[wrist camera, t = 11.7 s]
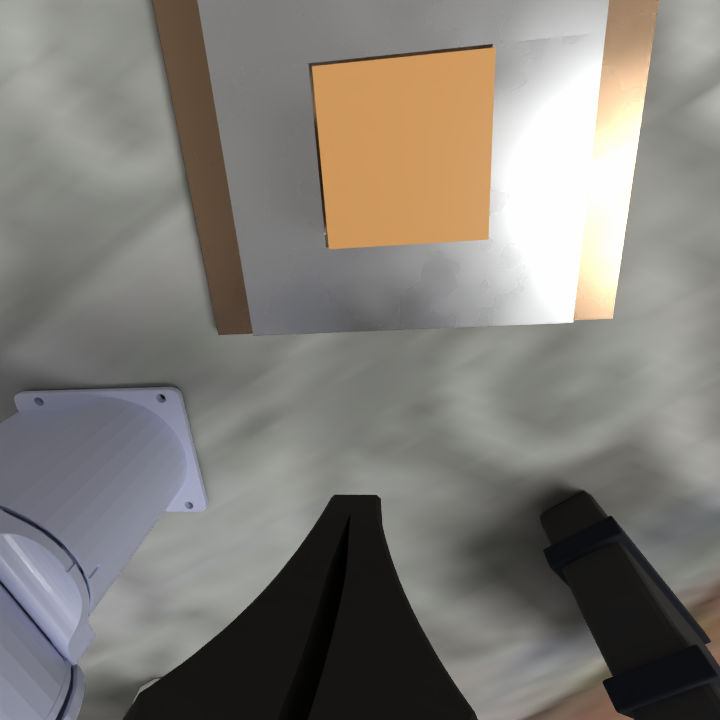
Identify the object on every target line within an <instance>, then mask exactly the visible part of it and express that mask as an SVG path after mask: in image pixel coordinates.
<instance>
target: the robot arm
mask: <svg viewBox="0 0 720 720" xmlns="http://www.w3.org/2000/svg"><path fill="white" fill-rule="evenodd" d="M160 394H162V395H164V396H165V398H166V400H165V399H162V398H161V396H160ZM40 398H41V399H42V400H43V402H42V401H41V399H40ZM14 402H15V405H16V407H17V410H18V412H17V413H16V414H14V415H12V416H11V417H9V418H7V419H6V420H4V421H2V422H1V423H0V720H76V719H77V717H78V714H79V712H80V709H81V706H82V702H83V698H84V693H85V679H84V674H83V672H82V670H81V668H80V667H79V666H78V665H77V664H76V663H77V662H78V660H79V659H80V657H81V656H82V654H83V653H84V651H85V650H86V648H87V647H88V645H89V644H90V642H91V641H92V639H93V638H94V636H95V633H94V632H93V630H92V628H91V627H90V624H89V622H88V617H89V616H90V614H91V613H92V611H93V610H94V609H95V607H96V606H97V605H98V603H99V602H100V600H101V599H102V598H103V596H104V595H105V593H106V592H107V591H108V589H109V588H110V586H111V585H112V584H113V582H114V581H115V579H116V578H117V577H118V575H119V574H120V572H121V571H122V570H123V568H124V567H125V566H126V564H127V563H128V561H129V560H130V559H131V557H132V556H133V554H134V553H135V552H136V550H137V549H138V547H139V546H140V545H141V543H142V542H143V540H144V539H145V538H146V536H147V535H148V534H149V532H150V531H151V529H152V528H153V527H154V525H155V524H156V522H157V521H158V520H159V518H160V517H161V515H162V514H163V513H164V512H201V511H203V510H205V508H206V507H207V505H208V500H207V496H206V492H205V488H204V484H203V480H202V475H201V471H200V467H199V463H198V459H197V455H196V451H195V447H194V442H193V438H192V434H191V430H190V426H189V422H188V418H187V413H186V409H185V405H184V401H183V397H182V394H181V392H180V391H179V390H178V389H177V388H175V387H149V388H115V389H82V390H48V391H23V392H20V393H18V394H17V395H15V397H14ZM189 502H191V503H192V504H193V505H192V504H190V503H189ZM123 720H478V719H477V716H476V714H475V712H474V711H473V709H472V708H471V706H470V705H469V704H468V702H467V701H466V699H465V698H464V696H463V695H462V694H461V692H460V691H459V689H458V688H457V686H456V685H455V683H454V682H453V680H452V679H451V677H450V676H449V674H448V672H447V671H446V669H445V668H444V666H443V664H442V663H441V661H440V660H439V658H438V656H437V654H436V653H435V651H434V649H433V647H432V646H431V644H430V642H429V640H428V639H427V637H426V635H425V633H424V631H423V630H422V628H421V626H420V624H419V622H418V620H417V618H416V616H415V614H414V612H413V610H412V608H411V606H410V604H409V601H408V599H407V597H406V595H405V592H404V590H403V588H402V585H401V583H400V580H399V578H398V575H397V572H396V570H395V567H394V564H393V561H392V559H391V556H390V552H389V549H388V545H387V542H386V539H385V535H384V531H383V526H382V513H381V498H379V497H378V496H377V495H334V496H333V497H332V498H331V499H330V501H329V503H328V505H327V506H326V508H325V510H324V511H323V513H322V515H321V516H320V518H319V519H318V521H317V522H316V524H315V525H314V527H313V529H312V530H311V531H310V533H309V534H308V536H307V537H306V538H305V540H304V541H303V543H302V544H301V546H300V547H299V548H298V550H297V551H296V552H295V554H294V555H293V556H292V557H291V559H290V560H289V561H288V562H287V564H286V565H285V566H284V568H283V569H282V570H281V571H280V572H279V574H278V575H277V576H276V577H275V578H274V580H273V581H272V582H271V583H270V584H269V585H268V586H267V587H266V589H265V590H264V591H263V592H262V593H261V594H260V595H259V596H258V597H257V598H256V599H255V600H254V601H253V602H252V603H251V604H250V605H249V606H248V607H247V608H246V609H245V610H244V611H243V612H242V613H241V614H240V615H239V616H238V617H237V618H236V619H235V620H234V621H233V622H231V623H230V624H229V625H228V626H227V627H226V628H225V629H224V630H223V631H221V632H220V633H219V634H218V635H217V636H215V637H214V638H213V639H212V640H211V641H209V642H208V643H207V644H206V645H205V646H203V647H202V648H201V649H200V650H199V651H197V652H196V653H195V654H194V655H192V656H191V657H190V658H189V659H187V660H186V661H185V662H183V663H182V664H181V665H179V666H178V667H176V668H175V669H174V670H172V671H171V672H169V673H168V674H166V675H165V676H164V677H162V678H161V679H159V680H158V681H156V682H155V683H154V684H152V685H151V686H149V687H148V688H146V689H145V690H143V691H142V692H140V693H139V694H138V696H137V698H136V699H135V701H134V703H133V704H132V706H131V707H130V709H129V710H128V712H127V713H126V715H125V716H124V718H123Z"/></svg>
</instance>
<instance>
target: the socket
mask: <svg viewBox="0 0 720 720" xmlns="http://www.w3.org/2000/svg"><path fill="white" fill-rule="evenodd" d="M658 2H659V0H153V5H154V10H155V16H156V21H157V26H158V31H159V36H160V41H161V46H162V51H163V56H164V61H165V66H166V71H167V76H168V81H169V87H170V92H171V97H172V102H173V107H174V112H175V117H176V122H177V127H178V132H179V137H180V142H181V147H182V152H183V158H184V163H185V168H186V173H187V178H188V183H189V188H190V193H191V198H192V203H193V208H194V213H195V218H196V223H197V228H198V234H199V239H200V244H201V249H202V254H203V259H204V264H205V269H206V274H207V279H208V284H209V289H210V294H211V299H212V305H213V310H214V315H215V320H216V325H217V330H218V335H228V334H252V333H253V336H261V335H285V334H310V333H334V332H358V331H382V330H406V329H430V328H454V327H479V326H503V325H527V324H551V323H573V320H585V319H609V318H612V317H613V310H614V304H615V297H616V290H617V283H618V276H619V269H620V263H621V256H622V249H623V242H624V235H625V228H626V221H627V215H628V208H629V201H630V194H631V187H632V180H633V174H634V167H635V160H636V153H637V146H638V139H639V132H640V126H641V119H642V112H643V105H644V98H645V91H646V85H647V78H648V71H649V64H650V57H651V50H652V43H653V37H654V30H655V23H656V16H657V9H658ZM494 47H496V54H495V81H494V107H493V134H492V161H491V188H490V215H489V240H474V241H458V242H441V243H424V244H408V245H391V246H375V247H358V248H341V249H329V244H328V234H327V223H326V212H325V201H324V190H323V180H322V169H321V158H320V147H319V136H318V126H317V115H316V104H315V93H314V82H313V72H312V66H320V65H330V64H340V63H349V62H359V61H369V60H378V59H388V58H398V57H407V56H417V55H427V54H436V53H446V52H456V51H465V50H475V49H485V48H494Z"/></svg>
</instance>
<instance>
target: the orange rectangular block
mask: <svg viewBox="0 0 720 720" xmlns="http://www.w3.org/2000/svg"><path fill="white" fill-rule="evenodd" d="M495 54H496V47H494V48H485V49H475V50H465V51H456V52H446V53H436V54H427V55H417V56H407V57H398V58H388V59H378V60H369V61H359V62H349V63H340V64H330V65H320V66H312V72H313V82H314V93H315V104H316V115H317V126H318V136H319V147H320V158H321V169H322V180H323V190H324V201H325V212H326V223H327V234H328V244H329V249H341V248H358V247H375V246H391V245H408V244H424V243H441V242H458V241H474V240H489V215H490V188H491V161H492V134H493V107H494V81H495Z"/></svg>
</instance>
